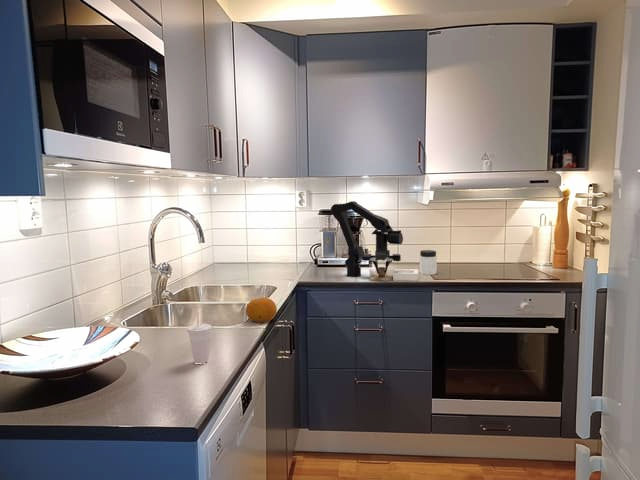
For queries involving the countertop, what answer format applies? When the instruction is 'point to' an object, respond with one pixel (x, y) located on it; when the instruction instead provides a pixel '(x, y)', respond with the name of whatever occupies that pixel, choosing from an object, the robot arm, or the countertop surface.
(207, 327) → the smoothie
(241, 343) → the countertop surface
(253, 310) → the fruit
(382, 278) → the lid
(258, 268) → the countertop surface
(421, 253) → the jar
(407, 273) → the dish
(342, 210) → the robot arm
